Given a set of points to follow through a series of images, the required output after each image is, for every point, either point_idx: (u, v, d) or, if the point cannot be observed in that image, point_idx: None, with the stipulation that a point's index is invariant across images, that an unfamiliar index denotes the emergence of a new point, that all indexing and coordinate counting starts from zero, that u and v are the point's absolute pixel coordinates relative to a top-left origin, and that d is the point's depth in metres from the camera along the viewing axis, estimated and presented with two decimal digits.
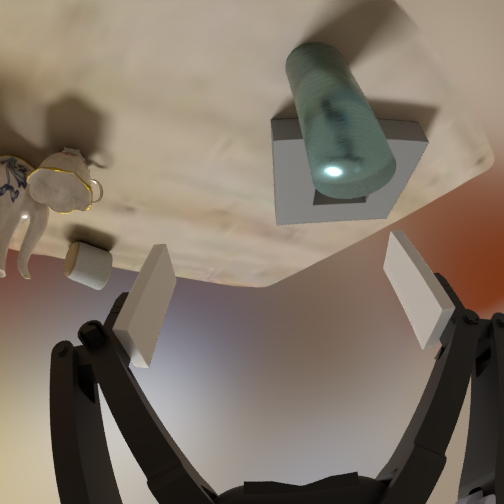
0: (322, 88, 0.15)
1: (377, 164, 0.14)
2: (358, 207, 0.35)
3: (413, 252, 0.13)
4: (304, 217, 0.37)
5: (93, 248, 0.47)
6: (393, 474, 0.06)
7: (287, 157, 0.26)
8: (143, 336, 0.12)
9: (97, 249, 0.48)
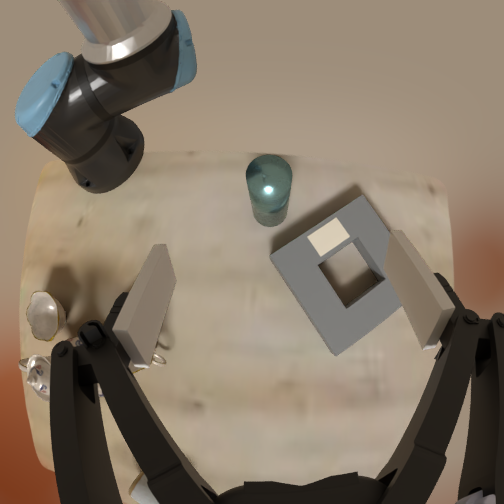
0: None
1: (272, 163, 0.30)
2: (385, 288, 0.36)
3: (413, 252, 0.13)
4: (352, 330, 0.35)
5: None
6: (393, 474, 0.06)
7: (288, 265, 0.37)
8: (143, 336, 0.12)
9: None
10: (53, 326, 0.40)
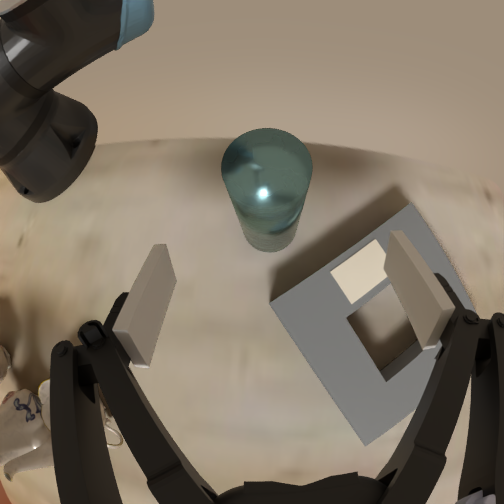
0: None
1: (274, 143, 0.15)
2: None
3: (413, 252, 0.13)
4: (391, 410, 0.20)
5: None
6: (393, 474, 0.06)
7: (298, 320, 0.22)
8: (143, 336, 0.12)
9: None
10: None
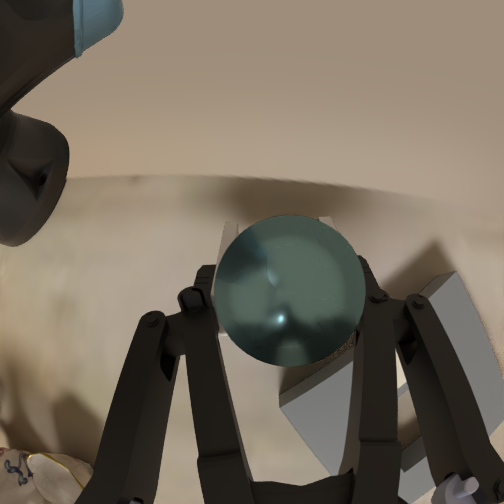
0: None
1: (303, 247, 0.09)
2: None
3: None
4: (406, 495, 0.14)
5: None
6: (352, 471, 0.06)
7: (314, 424, 0.16)
8: None
9: None
10: None
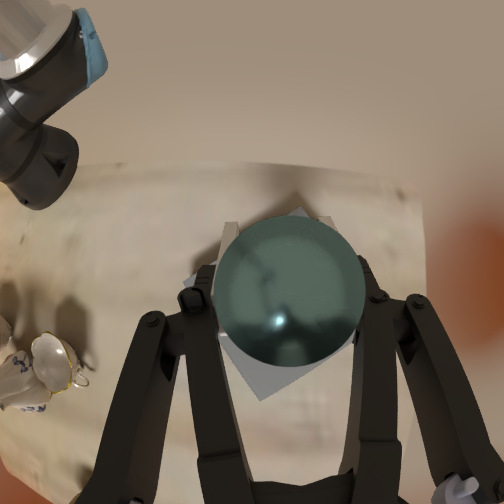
0: None
1: (303, 248, 0.09)
2: None
3: None
4: (280, 373, 0.29)
5: None
6: (352, 471, 0.06)
7: None
8: None
9: None
10: None
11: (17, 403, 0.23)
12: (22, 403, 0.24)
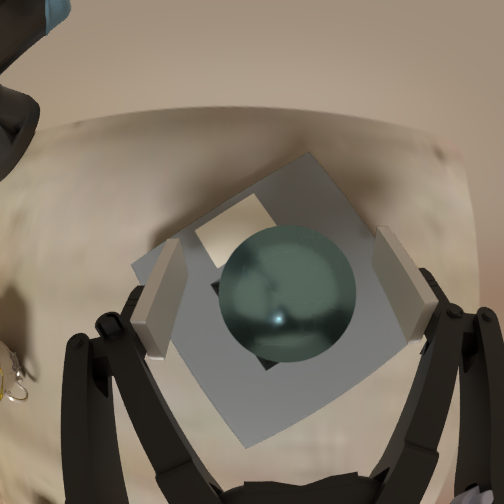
0: None
1: (300, 254, 0.10)
2: (351, 332, 0.18)
3: (398, 247, 0.14)
4: (278, 409, 0.17)
5: None
6: (386, 473, 0.06)
7: None
8: (159, 328, 0.12)
9: None
10: None
11: None
12: None
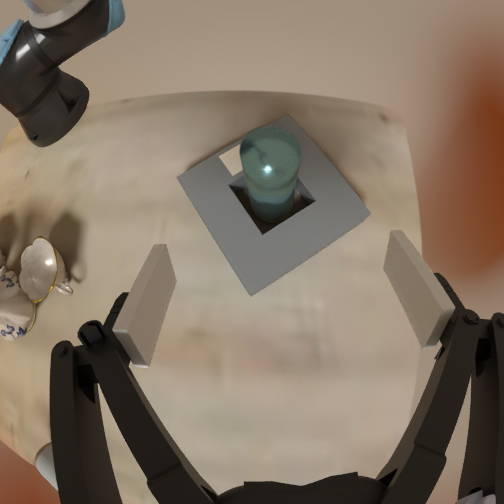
0: None
1: (275, 136, 0.22)
2: (316, 212, 0.30)
3: (413, 252, 0.13)
4: (270, 261, 0.29)
5: None
6: (393, 474, 0.06)
7: (194, 186, 0.32)
8: (143, 336, 0.12)
9: None
10: None
11: None
12: (1, 310, 0.24)
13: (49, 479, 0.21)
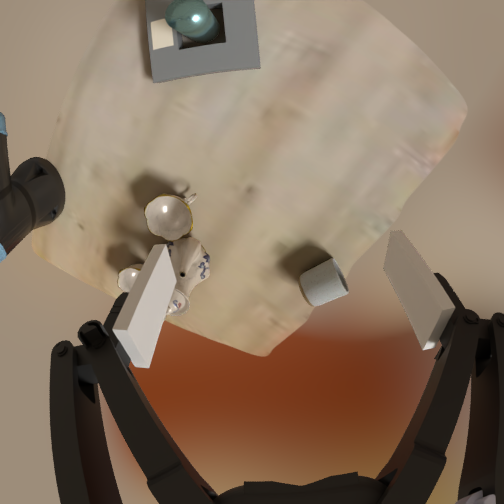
0: None
1: (177, 6, 0.22)
2: (230, 5, 0.29)
3: (413, 252, 0.13)
4: (246, 45, 0.32)
5: None
6: (393, 474, 0.06)
7: (167, 72, 0.35)
8: (143, 336, 0.12)
9: (318, 265, 0.56)
10: None
11: (187, 263, 0.45)
12: (189, 259, 0.45)
13: (326, 297, 0.52)
